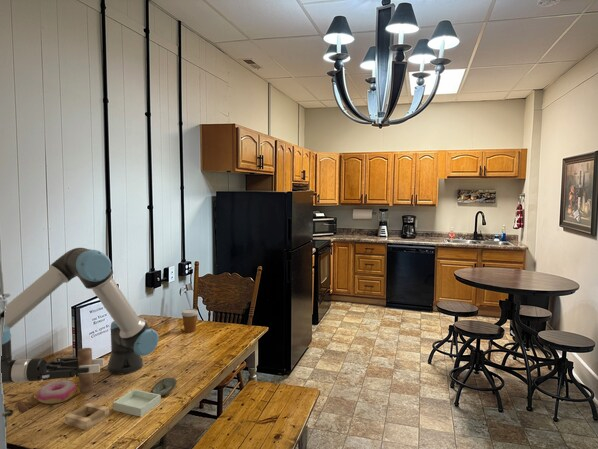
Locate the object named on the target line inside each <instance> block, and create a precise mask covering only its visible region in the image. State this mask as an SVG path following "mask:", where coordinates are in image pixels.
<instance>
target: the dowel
mask: <svg viewBox="0 0 598 449" xmlns="http://www.w3.org/2000/svg"><path fill="white" fill-rule="evenodd" d="M92 349H93V348H91V347H83V348H80V349H78V350H77V357H78V368H79V366H80V365H92V359H93V351H92ZM78 384H79V385H78V387H79V394H80V395H81V394H82V395H83V394H89V393H90V394H91V392H93V391H94V373H84V374H79V376H78Z"/></svg>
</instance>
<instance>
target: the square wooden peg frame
mask: <svg viewBox="0 0 598 449" xmlns="http://www.w3.org/2000/svg"><path fill="white" fill-rule="evenodd" d="M87 415H89V416H87ZM86 416H87V417H86ZM107 417H110V407H107V406H103V405H99V404H95V403H91V402H86V403H85V404H84V405H82V406H80V407H79V408H76V409H75V410H73V411H71V412H70V413H67V414H66V415H65V416H64V422H65V423H64V424H65V425H66V424H67V425H66V426H71V427H73V426H74V428H78V429H81V430H85V431H87V430H90V429H91V428H93V427H94V426H95V425H97V424H98V423H100V422H101V421H104V420H105V419H106V418H107Z"/></svg>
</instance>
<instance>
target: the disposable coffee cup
mask: <svg viewBox="0 0 598 449" xmlns="http://www.w3.org/2000/svg"><path fill="white" fill-rule="evenodd" d="M198 315H199V311H198V310H197V309H196V308H188V309H184V310H182V312H181V316H182V323H183V329H184V332H185V333H188V334H189V333H190V334H191V333H194V332H196V330H197V322H198Z"/></svg>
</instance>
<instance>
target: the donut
mask: <svg viewBox="0 0 598 449" xmlns="http://www.w3.org/2000/svg"><path fill="white" fill-rule="evenodd" d="M76 391H77V384H76V383H75V382H74V381H72V380H68V379H63V380H55V381H52V382H49V383H46V384H45V385H42V387H40V388H39V389H38V391H37V393H36V398H37V400H38V402H40V403H43V404H46V405H55V404H59V403H60V404H61V403H63V402H66V401H67V400H69V399H71V398H72V397H73V396H74V395H75V394H76Z"/></svg>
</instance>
